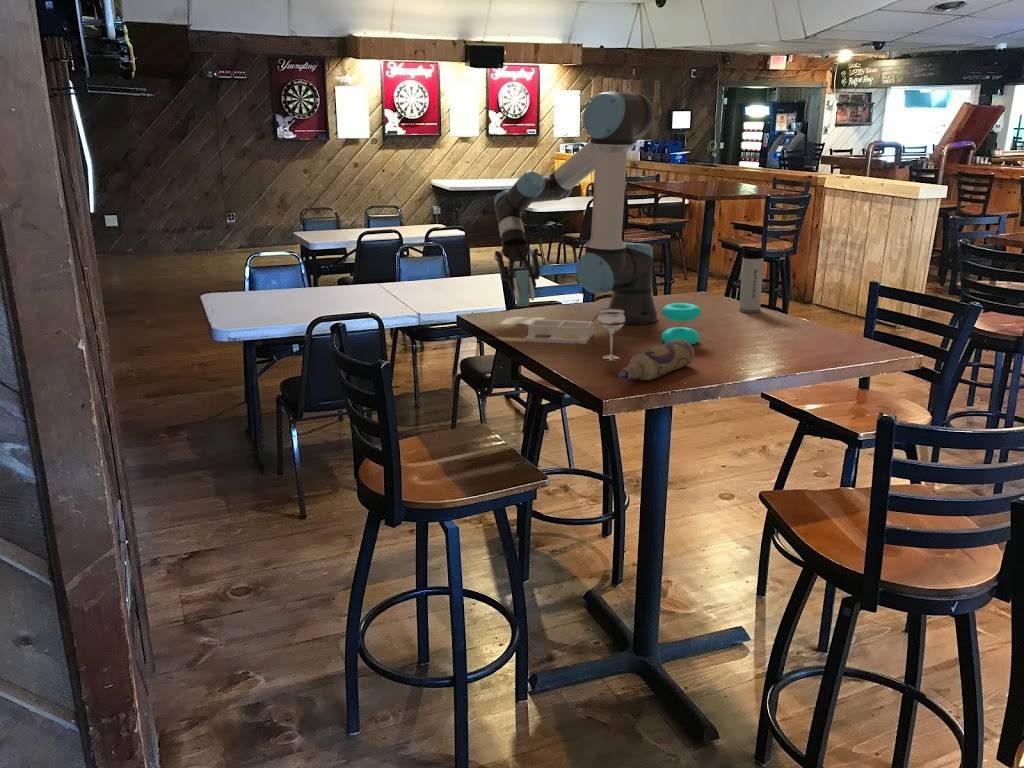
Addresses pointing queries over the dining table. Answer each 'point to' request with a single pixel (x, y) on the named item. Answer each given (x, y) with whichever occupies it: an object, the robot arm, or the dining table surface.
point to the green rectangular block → (523, 287)
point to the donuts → (681, 314)
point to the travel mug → (751, 279)
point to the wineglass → (611, 325)
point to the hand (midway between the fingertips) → (525, 298)
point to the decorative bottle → (658, 361)
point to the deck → (520, 320)
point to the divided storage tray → (560, 331)
